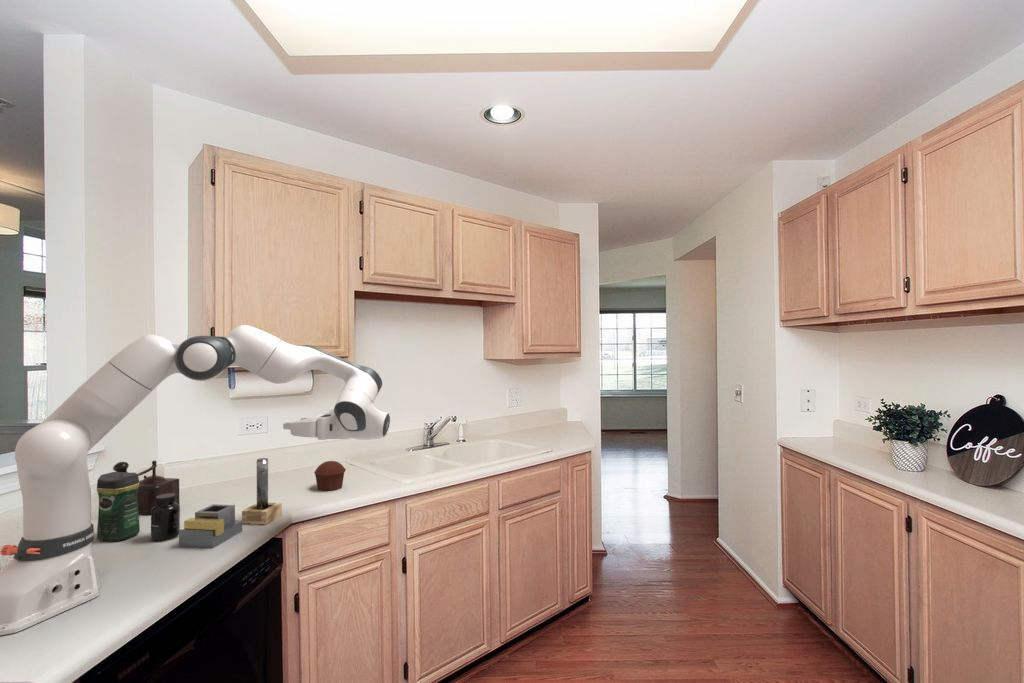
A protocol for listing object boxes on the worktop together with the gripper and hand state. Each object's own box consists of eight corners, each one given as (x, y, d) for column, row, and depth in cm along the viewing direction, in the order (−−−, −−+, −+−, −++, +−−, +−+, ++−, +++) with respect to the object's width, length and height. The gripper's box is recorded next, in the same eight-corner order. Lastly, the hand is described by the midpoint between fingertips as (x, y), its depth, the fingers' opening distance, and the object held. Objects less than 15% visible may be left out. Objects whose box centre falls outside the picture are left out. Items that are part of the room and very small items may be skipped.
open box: (266, 524, 149) (266, 511, 149) (242, 523, 150) (241, 510, 150) (281, 515, 157) (281, 503, 157) (258, 514, 158) (258, 502, 158)
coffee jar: (145, 532, 144) (145, 469, 144) (119, 543, 136) (118, 476, 136) (118, 530, 146) (118, 468, 146) (90, 541, 138) (90, 475, 138)
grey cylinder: (263, 518, 152) (264, 460, 152) (254, 518, 152) (254, 460, 152) (270, 514, 155) (270, 458, 155) (260, 514, 156) (260, 457, 156)
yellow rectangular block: (217, 535, 133) (217, 522, 133) (184, 534, 134) (184, 521, 134) (224, 532, 135) (223, 519, 135) (191, 530, 136) (190, 517, 136)
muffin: (311, 486, 189) (311, 461, 189) (341, 482, 195) (341, 457, 195) (318, 494, 179) (318, 467, 179) (349, 489, 185) (349, 463, 185)
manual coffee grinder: (151, 504, 170) (151, 452, 170) (180, 505, 168) (180, 452, 168) (109, 520, 154) (109, 463, 154) (141, 521, 153) (141, 464, 153)
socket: (212, 548, 132) (212, 518, 132) (178, 546, 134) (178, 517, 134) (242, 531, 144) (241, 504, 144) (211, 529, 146) (210, 503, 146)
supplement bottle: (146, 543, 136) (146, 500, 136) (157, 534, 143) (156, 493, 143) (174, 540, 138) (174, 498, 138) (183, 531, 144) (183, 491, 144)
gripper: (352, 409, 157) (311, 408, 159) (319, 418, 137) (273, 417, 138) (352, 428, 157) (311, 427, 159) (319, 441, 137) (273, 439, 138)
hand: (293, 423), depth 148 cm, fingers open, 8 cm apart
